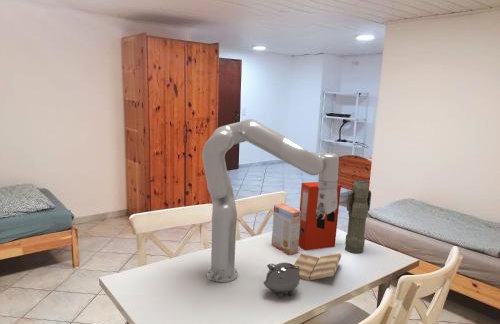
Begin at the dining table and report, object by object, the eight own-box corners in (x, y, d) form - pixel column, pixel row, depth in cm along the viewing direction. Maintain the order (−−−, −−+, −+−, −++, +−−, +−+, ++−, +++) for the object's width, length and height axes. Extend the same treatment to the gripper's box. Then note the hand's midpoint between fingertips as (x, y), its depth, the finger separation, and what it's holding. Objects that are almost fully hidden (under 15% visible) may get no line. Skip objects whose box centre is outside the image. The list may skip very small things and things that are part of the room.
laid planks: (310, 281, 147) (310, 277, 147) (288, 275, 151) (288, 272, 151) (320, 261, 166) (321, 257, 165) (300, 256, 169) (301, 253, 169)
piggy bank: (257, 290, 139) (258, 262, 137) (289, 282, 146) (291, 255, 144) (272, 305, 129) (274, 275, 127) (306, 296, 136) (308, 267, 134)
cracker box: (298, 253, 173) (301, 211, 169) (288, 255, 170) (291, 212, 166) (280, 242, 185) (283, 202, 181) (271, 244, 181) (273, 204, 177)
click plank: (333, 275, 143) (332, 271, 143) (311, 280, 147) (309, 276, 147) (341, 255, 161) (340, 252, 161) (321, 260, 165) (320, 256, 165)
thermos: (338, 248, 181) (345, 179, 174) (357, 244, 186) (364, 178, 179) (350, 255, 173) (357, 183, 166) (369, 252, 178) (377, 182, 171)
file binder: (335, 247, 182) (341, 185, 176) (304, 251, 176) (309, 186, 170) (326, 240, 189) (331, 181, 183) (296, 244, 183) (301, 182, 177)
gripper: (327, 190, 136) (325, 233, 140) (344, 181, 150) (342, 220, 154) (309, 186, 141) (307, 228, 144) (327, 178, 155) (325, 217, 158)
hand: (325, 224), depth 149 cm, fingers open, 9 cm apart
